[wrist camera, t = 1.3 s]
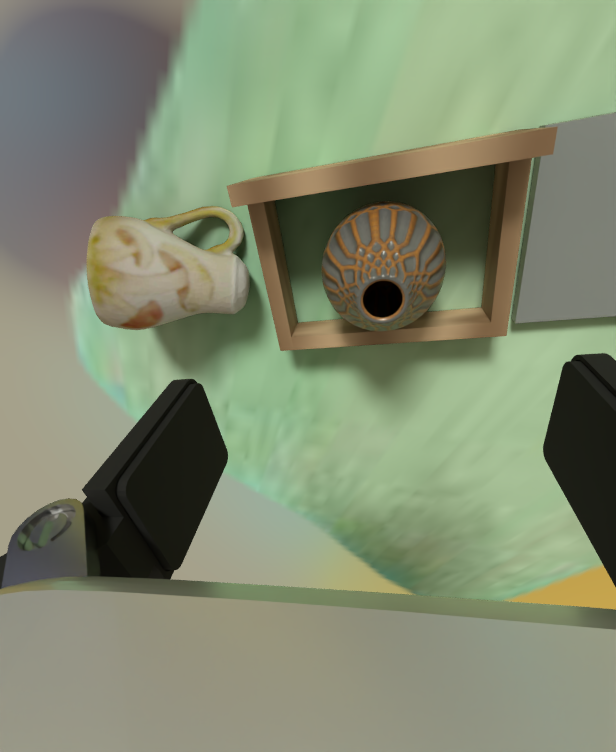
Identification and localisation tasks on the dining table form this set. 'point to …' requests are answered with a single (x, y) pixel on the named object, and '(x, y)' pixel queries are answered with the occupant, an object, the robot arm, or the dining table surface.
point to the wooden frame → (499, 149)
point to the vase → (383, 266)
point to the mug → (162, 270)
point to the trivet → (571, 227)
